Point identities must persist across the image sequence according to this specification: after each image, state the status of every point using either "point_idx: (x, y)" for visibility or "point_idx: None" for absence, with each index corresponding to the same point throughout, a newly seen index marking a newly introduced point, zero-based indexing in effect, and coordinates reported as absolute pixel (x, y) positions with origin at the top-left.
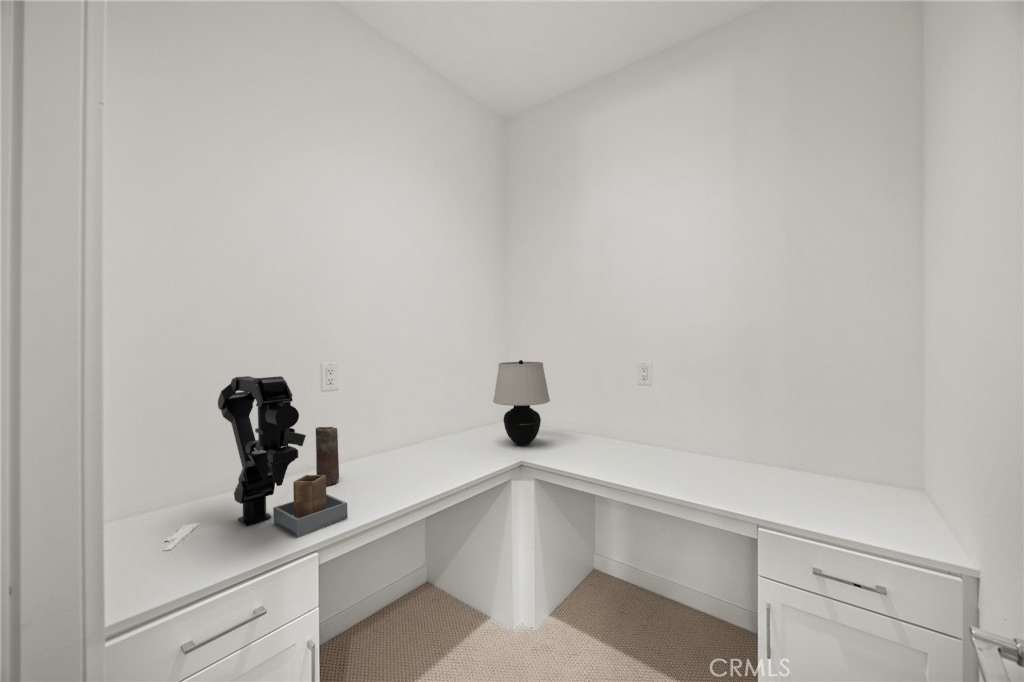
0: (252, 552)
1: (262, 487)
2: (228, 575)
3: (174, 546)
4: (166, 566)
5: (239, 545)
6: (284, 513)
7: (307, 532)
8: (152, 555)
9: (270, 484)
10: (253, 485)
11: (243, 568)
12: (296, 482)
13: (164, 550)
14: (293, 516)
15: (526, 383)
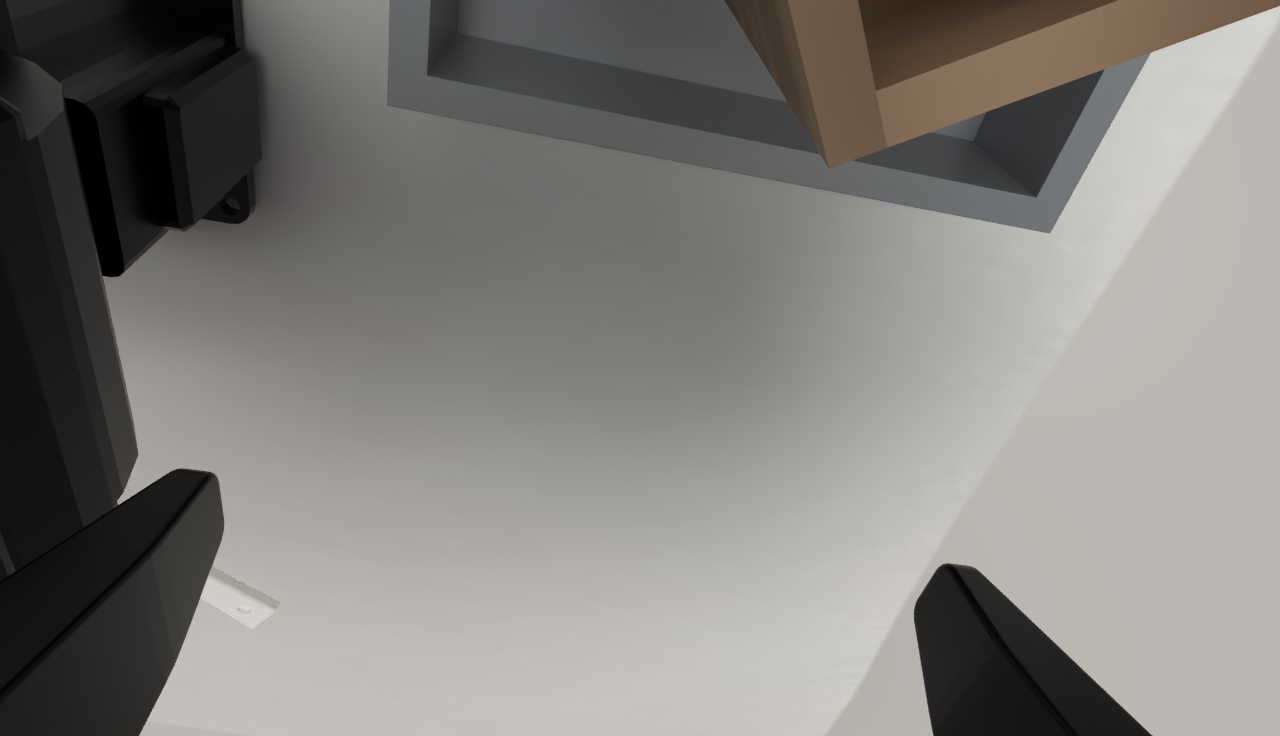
0: (805, 434)
1: (92, 299)
2: (907, 592)
3: (235, 584)
4: (489, 661)
5: (609, 420)
6: (737, 172)
7: None
8: (263, 650)
9: (51, 166)
10: (78, 477)
11: (928, 539)
12: (918, 135)
13: (259, 622)
14: (928, 181)
15: None
